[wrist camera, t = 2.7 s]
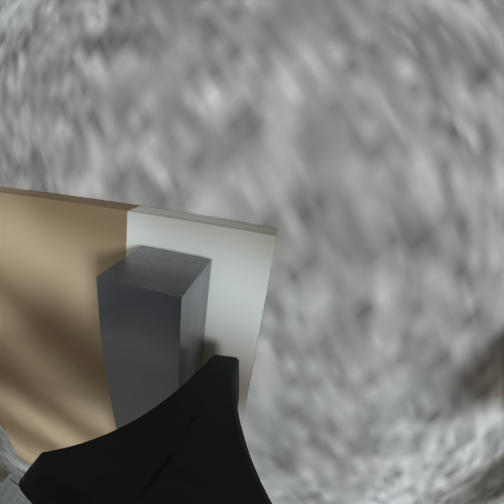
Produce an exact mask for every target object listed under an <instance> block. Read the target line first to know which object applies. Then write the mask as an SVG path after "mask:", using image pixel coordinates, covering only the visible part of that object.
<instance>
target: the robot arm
mask: <svg viewBox="0 0 504 504" xmlns="http://www.w3.org/2000/svg"><path fill="white" fill-rule="evenodd" d="M238 402H239V360H238V359H237V358H236V357H231V356H222V355H214V356H212V357H211V358H210V359H209V360H208V361H207V362H206V363H205V364H204V365H203V366H202V367H201V368H200V369H199V370H198V371H197V372H196V373H195V374H194V375H193V376H192V377H191V378H190V379H189V380H188V381H187V382H186V383H184V384H183V385H182V386H181V387H180V388H179V389H178V390H176V391H175V392H174V393H173V394H171V395H170V396H169V397H168V398H166V399H165V400H164V401H162V402H161V403H160V404H159V405H157V406H156V407H154V408H153V409H151V410H150V411H148V412H147V413H145V414H144V415H142V416H140V417H139V418H137V419H135V420H134V421H132V422H130V423H128V424H126V425H124V426H122V427H120V428H118V429H116V430H114V431H112V432H110V433H108V434H105V435H103V436H100V437H98V438H95V439H92V440H89V441H86V442H83V443H80V444H77V445H74V446H70V447H66V448H61V449H57V450H52V451H47V452H42V453H41V454H40V455H39V456H38V458H37V459H36V460H35V461H34V463H33V464H32V465H31V467H30V468H29V469H28V471H27V472H26V473H25V475H24V476H23V477H22V479H21V480H20V482H19V488H20V490H21V491H22V493H23V494H24V495H25V496H26V498H27V499H28V500H29V501H30V502H31V503H32V504H272V503H271V501H270V499H269V497H268V495H267V493H266V491H265V489H264V487H263V485H262V483H261V481H260V479H259V477H258V474H257V472H256V470H255V467H254V465H253V462H252V460H251V457H250V454H249V451H248V448H247V445H246V442H245V439H244V435H243V431H242V427H241V423H240V418H239V413H238ZM0 504H6V503H5V502H3V501H2V500H1V499H0Z"/></svg>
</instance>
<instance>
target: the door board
mask: <svg viewBox="0 0 504 504" xmlns="http://www.w3.org/2000/svg"><path fill="white" fill-rule="evenodd" d="M277 231H278V228H272V227H266V226H261V225H255V224H249V223H244V222H238V221H232V220H226V219H220V218H214V217H208V216H202V215H196V214H190V213H183V212H177V211H171V210H164V209H158V208H152V207H145V206H138V205H132V204H125V203H118V202H111V201H104V200H97V199H90V198H83V197H76V196H68V195H61V194H53V193H45V192H38V191H30V190H21V189H13V188H5V187H0V424H1V426H2V427H3V429H4V431H5V433H6V435H7V437H8V438H9V440H10V442H11V444H12V445H13V447H14V449H15V450H16V452H17V454H18V455H19V457H20V459H21V460H23V461H24V462H26V463H27V464H29V465H30V466H31V465H32V464H33V463H34V461H35V460H36V459H37V458H38V456H39V455H40V454H41V453H42V452H47V451H52V450H57V449H61V448H66V447H70V446H74V445H77V444H80V443H83V442H86V441H89V440H92V439H95V438H98V437H100V436H103V435H105V434H108V433H110V432H112V431H114V430H116V429H117V428H116V424H115V419H114V414H113V409H112V404H111V399H110V393H109V388H108V382H107V376H106V369H105V362H104V355H103V347H102V339H101V330H100V320H99V309H98V296H97V279H96V276H98V275H99V274H101V273H102V272H104V271H105V270H107V269H108V268H110V267H111V266H113V265H114V264H116V263H117V262H119V261H120V260H122V259H123V258H125V257H126V256H128V255H129V254H131V253H132V252H134V251H135V250H137V249H138V248H140V247H141V246H147V247H152V248H157V249H162V250H167V251H172V252H177V253H182V254H188V255H193V256H198V257H203V258H209V259H212V263H211V272H210V282H209V292H208V303H207V313H206V325H205V336H204V348H203V360H202V366H203V365H204V364H205V363H206V362H207V361H208V360H209V359H210V358H211V357H212V356H214V355H222V356H231V357H236V358H237V359H238V360H239V402H238V413H239V418H240V423H242V419H243V414H244V409H245V404H246V399H247V394H248V389H249V383H250V378H251V373H252V368H253V363H254V358H255V352H256V347H257V342H258V337H259V331H260V326H261V321H262V315H263V310H264V304H265V299H266V293H267V288H268V282H269V277H270V271H271V265H272V260H273V254H274V248H275V242H276V237H277Z"/></svg>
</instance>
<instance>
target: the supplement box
mask: <svg viewBox="0 0 504 504" xmlns="http://www.w3.org/2000/svg"><path fill="white" fill-rule="evenodd" d="M19 482H20V480H19V479H18V478H16V477H15V476H14V475H12V474H11V473H10V474H9V475H8V476H7V478H6V479H5V480H4V481H3V483H2V484H1V485H0V499H1V500H2V501H3V502H5V503H6V504H32V503H31V502H30V501H29V500H28V499H27V498H26V496H25V495H24V494H23V493H22V491H21V490H20V488H19Z"/></svg>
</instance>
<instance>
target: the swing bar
mask: <svg viewBox="0 0 504 504" xmlns="http://www.w3.org/2000/svg"><path fill="white" fill-rule="evenodd" d="M211 263H212V259H209V258H203V257H198V256H193V255H188V254H182V253H177V252H172V251H167V250H162V249H157V248H152V247H147V246H141V247H140V248H138V249H137V250H135V251H134V252H132V253H131V254H129V255H128V256H126V257H125V258H123V259H122V260H120V261H119V262H117V263H116V264H114V265H113V266H111V267H110V268H108V269H107V270H105V271H104V272H102V273H101V274H99V275H98V276H96V279H97V296H98V309H99V320H100V330H101V339H102V347H103V355H104V362H105V369H106V376H107V382H108V388H109V393H110V399H111V404H112V409H113V414H114V419H115V424H116V428H117V429H118V428H120V427H122V426H124V425H126V424H128V423H130V422H132V421H134V420H135V419H137V418H139V417H140V416H142V415H144V414H145V413H147V412H148V411H150V410H151V409H153V408H154V407H156V406H157V405H159V404H160V403H161V402H162V401H164V400H165V399H166V398H168V397H169V396H170V395H171V394H173V393H174V392H175V391H176V390H178V389H179V388H180V387H181V386H182V385H183V384H184V383H186V382H187V381H188V380H189V379H190V378H191V377H192V376H193V375H194V374H195V373H196V372H197V371H198V370H199V369H200V368H201V367H202V360H203V348H204V336H205V325H206V313H207V303H208V292H209V282H210V272H211Z"/></svg>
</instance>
